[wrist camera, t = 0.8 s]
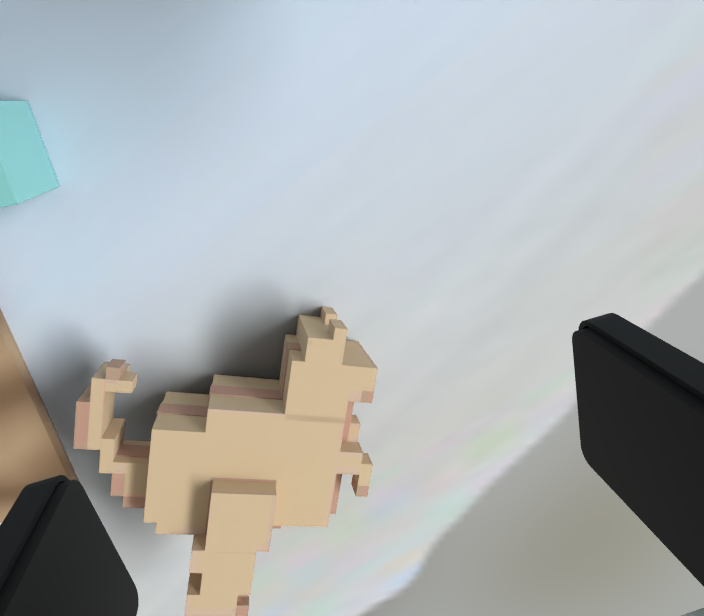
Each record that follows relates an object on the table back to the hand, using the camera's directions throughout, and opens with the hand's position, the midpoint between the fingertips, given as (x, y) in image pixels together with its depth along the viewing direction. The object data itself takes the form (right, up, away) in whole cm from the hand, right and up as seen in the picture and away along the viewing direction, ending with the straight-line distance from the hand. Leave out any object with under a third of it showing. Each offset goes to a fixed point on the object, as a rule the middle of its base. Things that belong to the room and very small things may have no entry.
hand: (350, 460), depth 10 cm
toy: (-10, -5, +33) cm, 34 cm away
